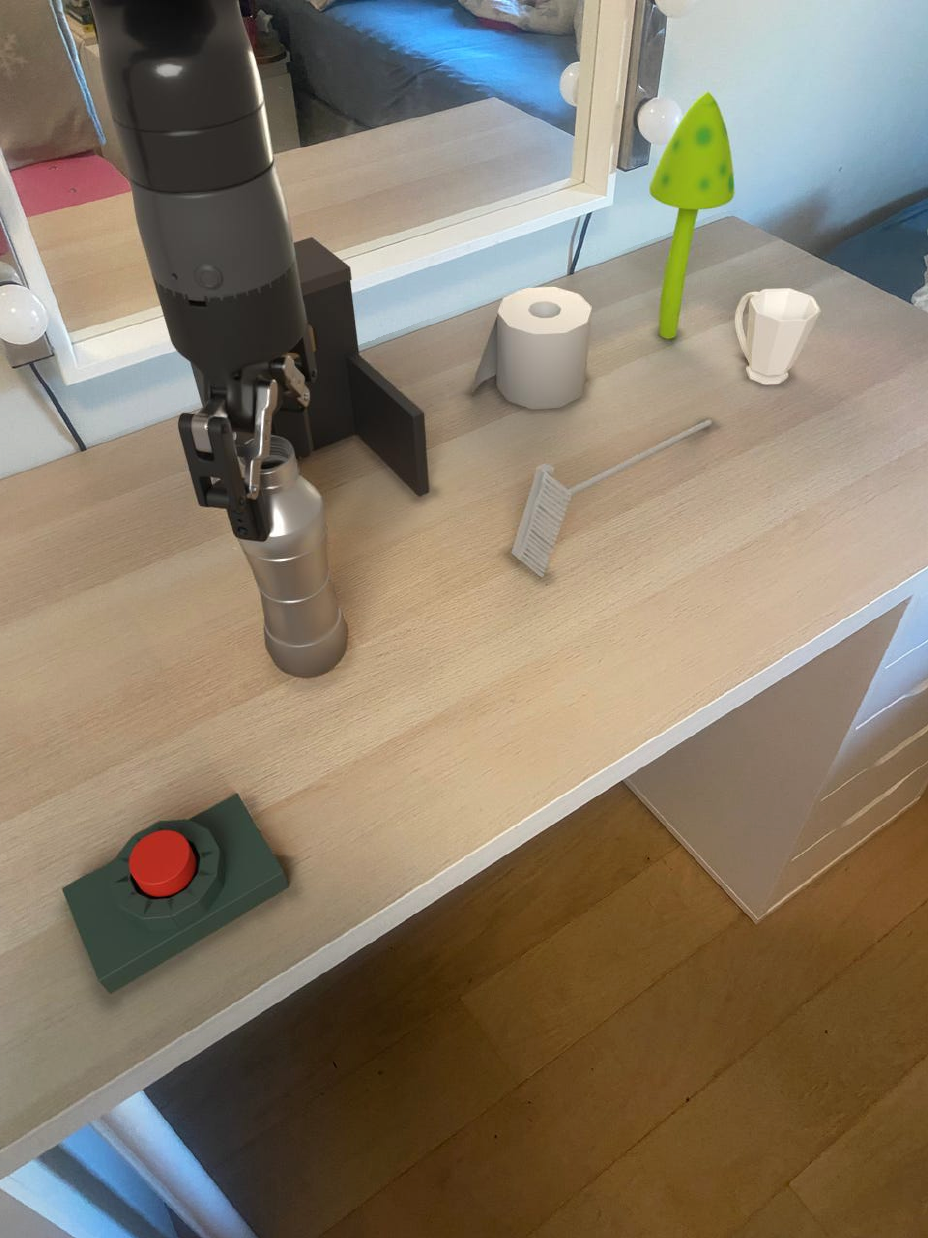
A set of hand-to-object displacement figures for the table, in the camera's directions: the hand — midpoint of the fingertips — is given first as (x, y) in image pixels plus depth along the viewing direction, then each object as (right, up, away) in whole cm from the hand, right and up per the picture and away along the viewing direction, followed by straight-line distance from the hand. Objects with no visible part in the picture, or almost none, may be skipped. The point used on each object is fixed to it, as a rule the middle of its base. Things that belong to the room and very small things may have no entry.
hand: (276, 493), depth 59 cm
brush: (+27, +3, +25) cm, 37 cm away
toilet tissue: (+19, +17, +37) cm, 45 cm away
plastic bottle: (0, -11, +12) cm, 17 cm away
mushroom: (+36, +24, +43) cm, 61 cm away
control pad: (-6, -26, -1) cm, 27 cm away
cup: (+44, +19, +38) cm, 62 cm away
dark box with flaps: (-2, +7, +28) cm, 29 cm away
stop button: (-6, -24, -4) cm, 25 cm away
